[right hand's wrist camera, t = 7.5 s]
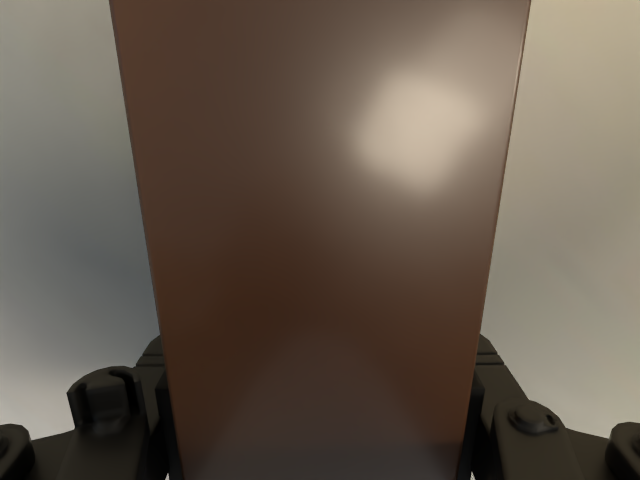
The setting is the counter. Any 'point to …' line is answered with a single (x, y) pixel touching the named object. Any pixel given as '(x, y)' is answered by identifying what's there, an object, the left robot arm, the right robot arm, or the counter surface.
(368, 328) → the plank
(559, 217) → the counter surface
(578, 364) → the counter surface
